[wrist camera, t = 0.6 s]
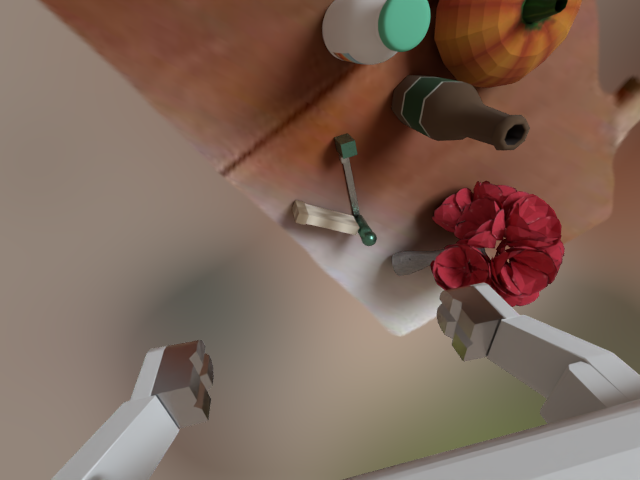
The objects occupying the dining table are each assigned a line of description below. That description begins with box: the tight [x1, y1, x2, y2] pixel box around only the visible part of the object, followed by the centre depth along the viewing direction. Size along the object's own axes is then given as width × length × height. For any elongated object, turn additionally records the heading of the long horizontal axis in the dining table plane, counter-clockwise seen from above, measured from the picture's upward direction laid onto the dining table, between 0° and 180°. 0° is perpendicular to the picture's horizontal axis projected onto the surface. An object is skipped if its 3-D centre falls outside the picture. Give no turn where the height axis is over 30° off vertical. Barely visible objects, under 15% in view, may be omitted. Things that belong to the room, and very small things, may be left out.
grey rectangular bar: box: [292, 200, 359, 235], centre depth 56 cm, size 12×2×5 cm, turn 69°
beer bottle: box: [391, 75, 530, 150], centre depth 40 cm, size 8×8×24 cm
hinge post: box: [354, 215, 377, 246], centre depth 58 cm, size 3×3×9 cm
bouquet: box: [392, 181, 565, 307], centre depth 58 cm, size 22×24×30 cm
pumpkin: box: [434, 0, 582, 88], centre depth 39 cm, size 19×19×15 cm
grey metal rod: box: [343, 157, 360, 216], centre depth 56 cm, size 14×1×1 cm, turn 14°
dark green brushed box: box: [334, 134, 357, 163], centre depth 50 cm, size 3×3×4 cm
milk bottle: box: [322, 0, 430, 64], centre depth 35 cm, size 8×8×20 cm
